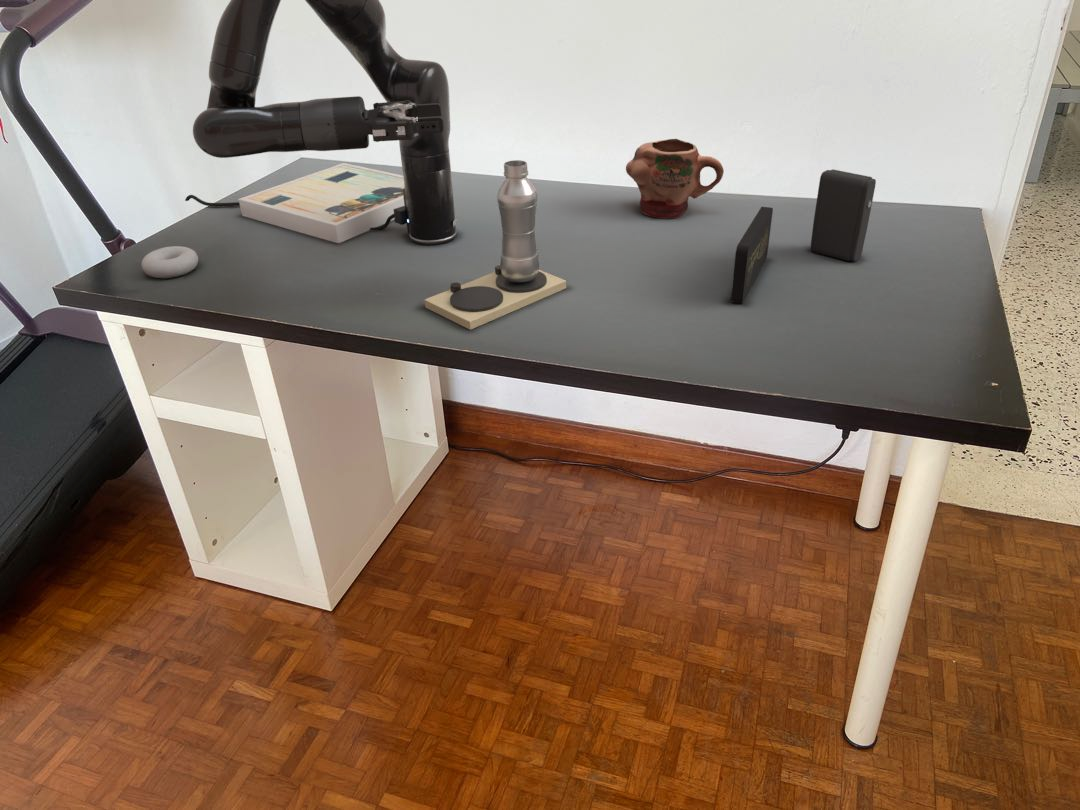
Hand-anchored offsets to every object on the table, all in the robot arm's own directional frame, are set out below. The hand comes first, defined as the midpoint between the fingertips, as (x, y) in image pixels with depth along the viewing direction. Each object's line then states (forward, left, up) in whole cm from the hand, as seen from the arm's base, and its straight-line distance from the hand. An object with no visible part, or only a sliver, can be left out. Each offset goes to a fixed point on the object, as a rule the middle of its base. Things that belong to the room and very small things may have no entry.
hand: (441, 117), depth 129 cm
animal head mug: (+1, +57, -30) cm, 65 cm away
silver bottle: (+6, +9, -28) cm, 30 cm away
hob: (+6, +4, -30) cm, 31 cm away
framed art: (-54, +11, -30) cm, 63 cm away
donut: (-48, -30, -30) cm, 64 cm away
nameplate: (+33, +39, -30) cm, 59 cm away
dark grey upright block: (+38, +59, -30) cm, 76 cm away
